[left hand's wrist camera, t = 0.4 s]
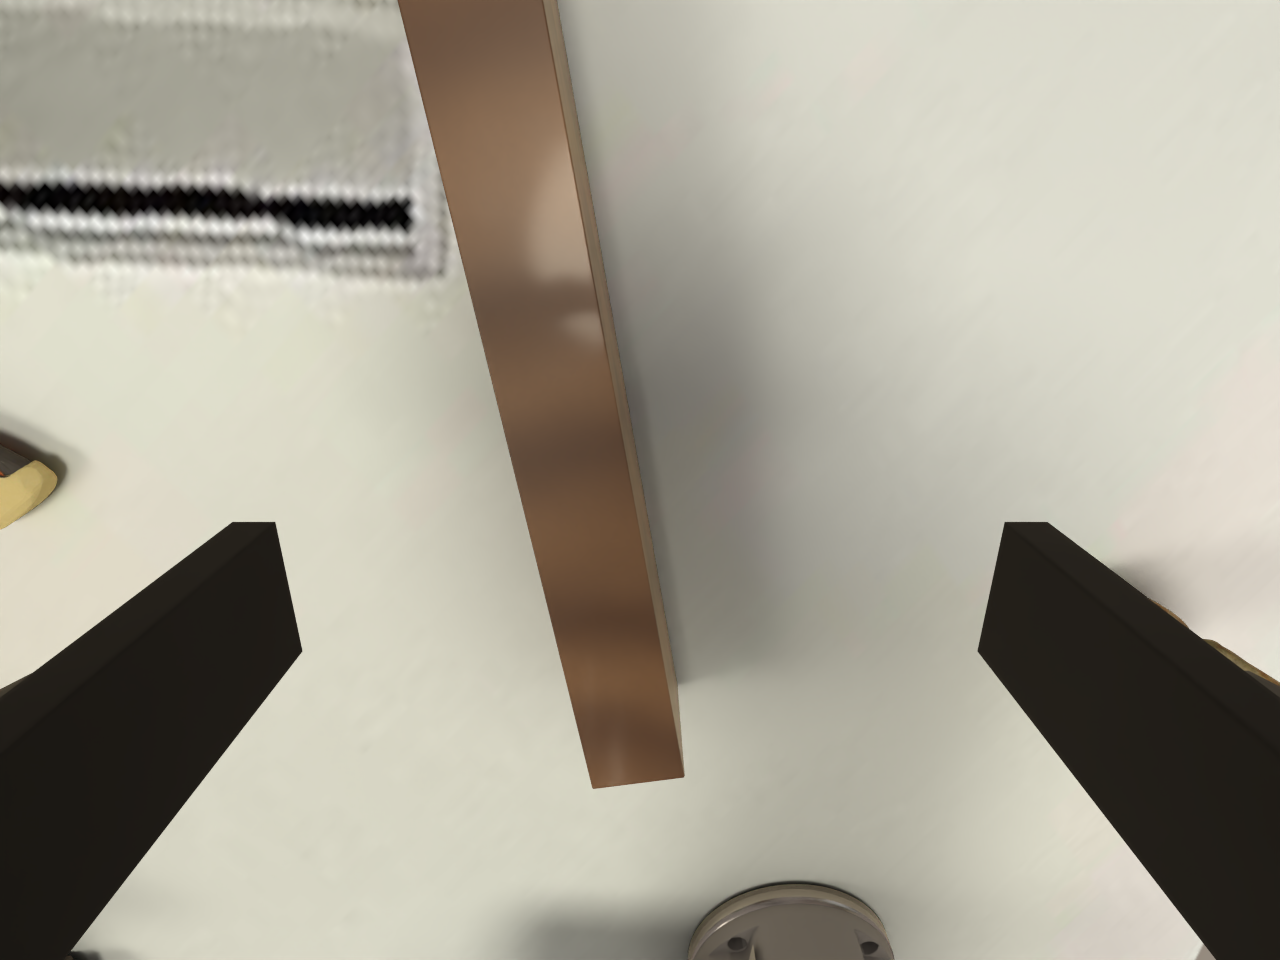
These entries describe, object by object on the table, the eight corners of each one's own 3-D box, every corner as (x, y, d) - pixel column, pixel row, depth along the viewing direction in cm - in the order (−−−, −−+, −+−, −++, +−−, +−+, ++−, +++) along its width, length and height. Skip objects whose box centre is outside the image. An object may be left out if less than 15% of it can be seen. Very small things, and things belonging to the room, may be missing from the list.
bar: (677, 685, 44) (684, 777, 36) (600, 696, 44) (592, 789, 37) (302, -1448, 18) (88, -2498, 11) (125, -1389, 19) (-192, -2377, 12)
